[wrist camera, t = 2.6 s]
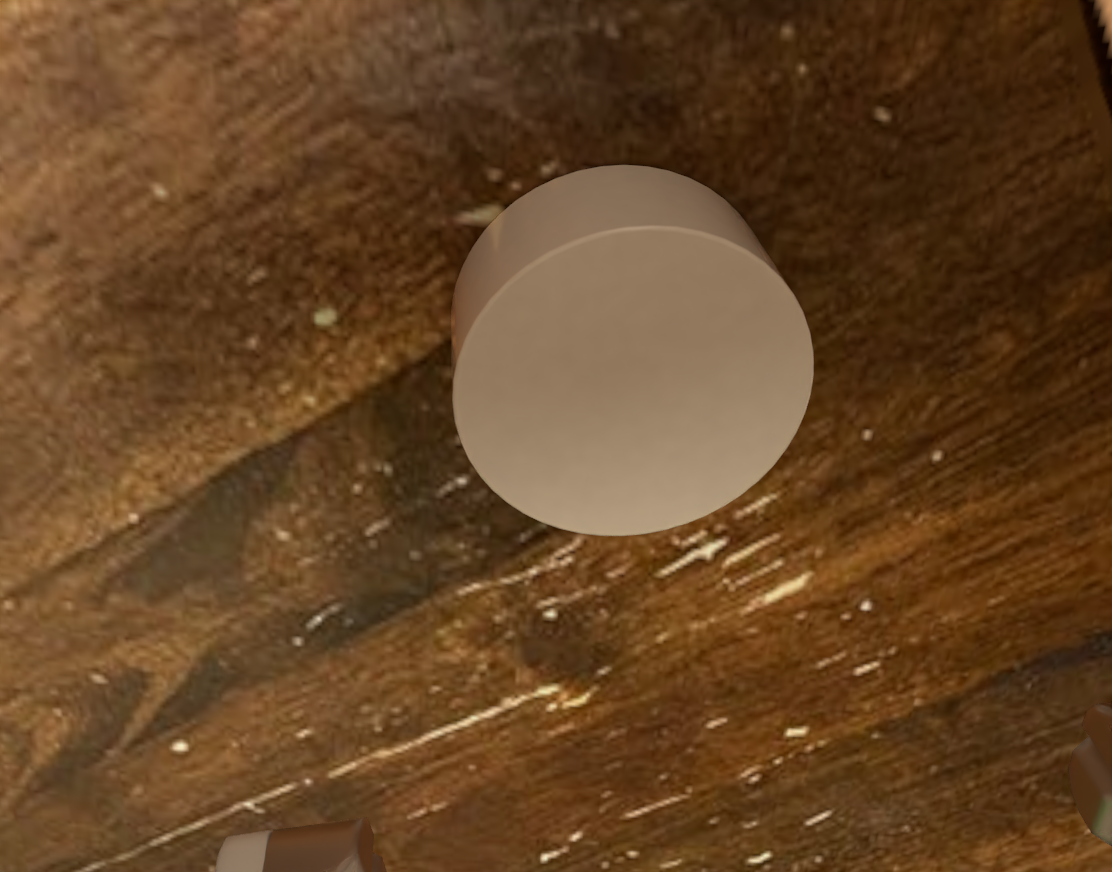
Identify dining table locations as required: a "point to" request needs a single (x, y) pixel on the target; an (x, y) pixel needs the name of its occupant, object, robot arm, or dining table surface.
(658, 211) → the beige hockey puck
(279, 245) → the dining table surface
